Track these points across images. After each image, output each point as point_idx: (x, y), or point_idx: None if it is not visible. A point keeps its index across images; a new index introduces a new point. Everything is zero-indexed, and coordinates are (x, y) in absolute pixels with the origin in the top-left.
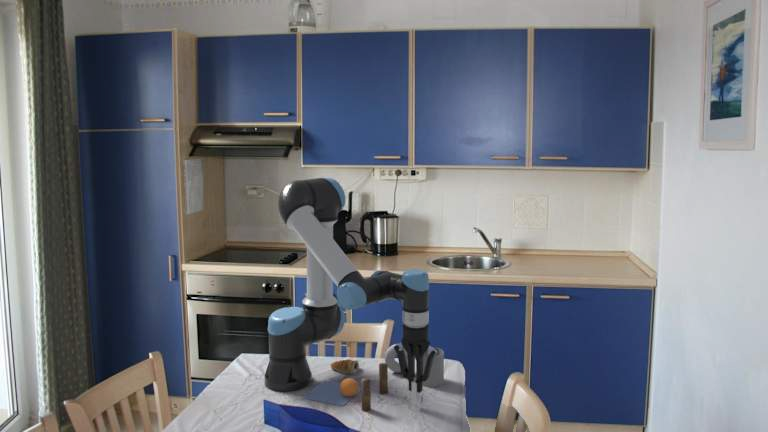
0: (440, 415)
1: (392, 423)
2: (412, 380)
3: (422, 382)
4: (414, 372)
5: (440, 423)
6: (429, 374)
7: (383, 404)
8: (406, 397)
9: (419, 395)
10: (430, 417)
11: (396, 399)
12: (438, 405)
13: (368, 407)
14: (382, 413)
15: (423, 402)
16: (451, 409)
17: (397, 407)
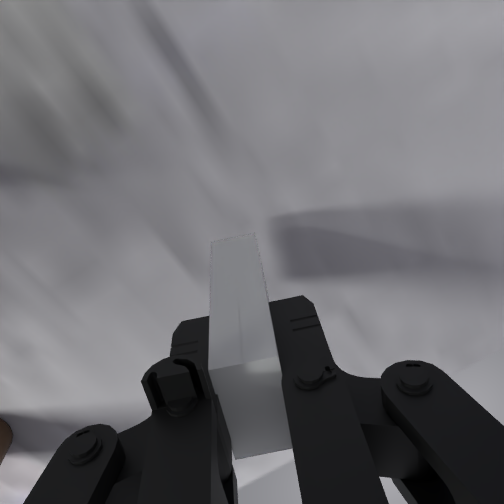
0: (452, 244)
1: (238, 467)
2: (230, 445)
3: (332, 359)
4: (216, 469)
5: (489, 332)
6: (480, 413)
7: (10, 328)
8: (50, 125)
9: (258, 254)
10: (401, 304)
11: (15, 209)
12: (374, 104)
13: (2, 457)
14: (107, 419)
15: (235, 127)
16: (499, 109)
17: (124, 311)
